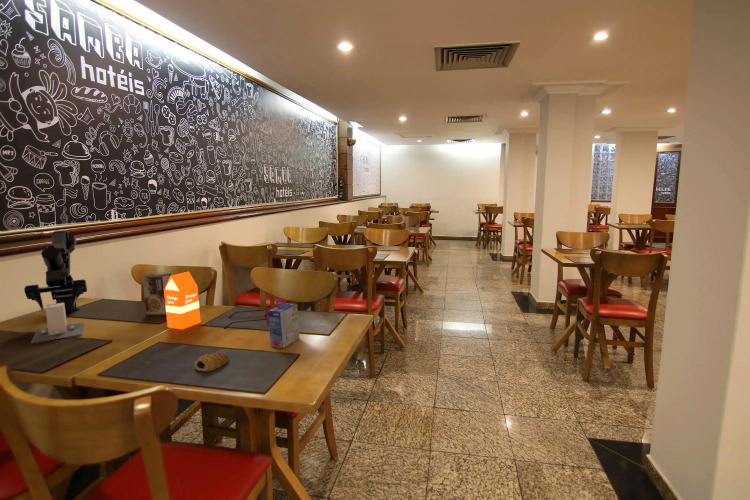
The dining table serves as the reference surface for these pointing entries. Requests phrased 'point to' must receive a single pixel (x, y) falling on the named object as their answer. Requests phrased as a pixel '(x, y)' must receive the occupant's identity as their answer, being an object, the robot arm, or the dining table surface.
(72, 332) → the mat
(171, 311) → the orange juice
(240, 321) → the glasses
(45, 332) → the locator pins
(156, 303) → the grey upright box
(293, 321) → the ink cartridge box
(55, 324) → the block
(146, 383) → the dining table surface
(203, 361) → the pastry
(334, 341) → the dining table surface
